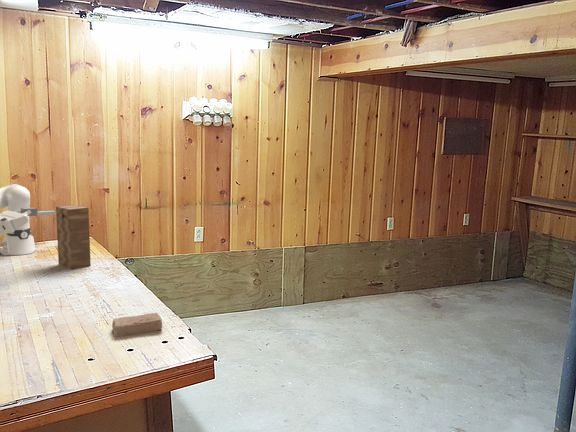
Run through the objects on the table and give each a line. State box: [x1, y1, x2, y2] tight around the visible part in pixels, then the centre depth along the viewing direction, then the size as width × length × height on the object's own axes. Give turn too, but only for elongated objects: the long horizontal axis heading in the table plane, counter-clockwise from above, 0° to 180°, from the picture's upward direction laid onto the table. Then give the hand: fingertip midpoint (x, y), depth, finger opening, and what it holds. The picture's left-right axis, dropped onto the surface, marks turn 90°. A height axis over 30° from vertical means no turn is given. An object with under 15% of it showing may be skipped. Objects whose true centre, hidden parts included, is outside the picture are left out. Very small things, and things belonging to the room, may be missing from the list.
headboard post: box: [55, 204, 92, 270], centre depth 270 cm, size 14×10×31 cm
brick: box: [111, 312, 163, 337], centre depth 187 cm, size 17×8×5 cm, turn 116°
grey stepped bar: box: [21, 207, 56, 217], centre depth 255 cm, size 16×4×4 cm, turn 143°
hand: (27, 210), depth 250 cm, fingers closed on grey stepped bar, 4 cm apart
